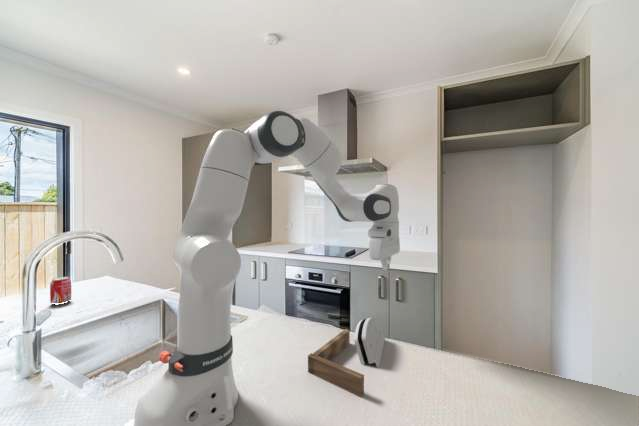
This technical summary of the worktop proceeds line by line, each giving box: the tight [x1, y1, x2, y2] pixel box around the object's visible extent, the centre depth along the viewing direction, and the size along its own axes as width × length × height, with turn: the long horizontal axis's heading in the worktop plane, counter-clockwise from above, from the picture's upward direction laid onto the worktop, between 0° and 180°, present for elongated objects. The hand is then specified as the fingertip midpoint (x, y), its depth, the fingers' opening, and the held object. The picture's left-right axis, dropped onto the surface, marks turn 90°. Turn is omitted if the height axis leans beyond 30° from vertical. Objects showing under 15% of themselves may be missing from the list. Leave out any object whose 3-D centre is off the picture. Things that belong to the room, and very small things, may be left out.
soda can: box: [49, 276, 72, 304], centre depth 121 cm, size 7×7×12 cm
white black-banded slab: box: [353, 317, 386, 368], centre depth 80 cm, size 17×5×10 cm, turn 159°
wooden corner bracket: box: [307, 328, 365, 398], centre depth 73 cm, size 20×16×4 cm
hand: (385, 268), depth 91 cm, fingers closed
